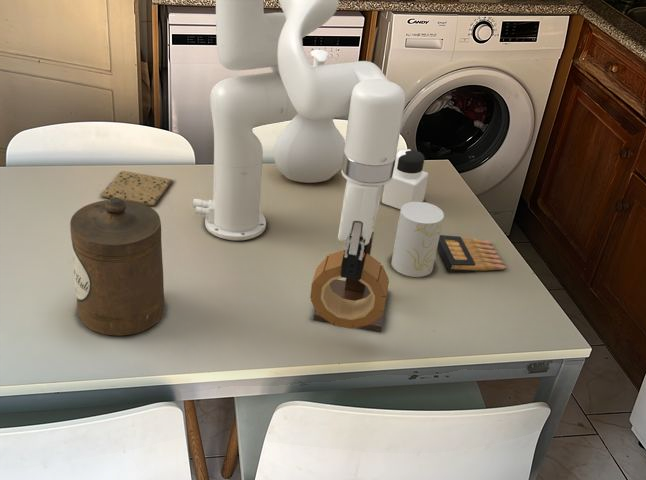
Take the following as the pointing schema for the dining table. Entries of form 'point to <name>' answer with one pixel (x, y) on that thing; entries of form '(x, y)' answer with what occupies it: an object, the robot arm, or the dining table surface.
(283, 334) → the dining table surface
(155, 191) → the tan flat square slab
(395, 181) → the medicine bottle
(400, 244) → the cup
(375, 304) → the segmented brown cylinder
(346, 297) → the hook stand
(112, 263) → the wooden container
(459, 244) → the ammunition clip
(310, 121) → the soap bottle
